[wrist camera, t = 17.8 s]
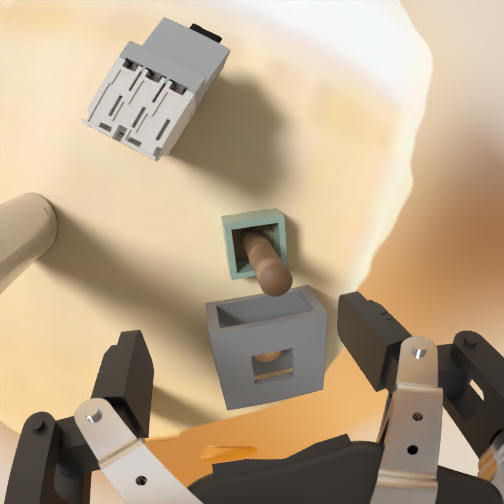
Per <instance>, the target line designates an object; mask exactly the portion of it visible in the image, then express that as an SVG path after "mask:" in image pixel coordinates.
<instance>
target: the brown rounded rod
mask: <svg viewBox="0 0 504 504" xmlns="http://www.w3.org/2000/svg"><path fill="white" fill-rule="evenodd" d="M241 242H242V244H243V246H244V249H245V251H246V253H247V256H248V258H249V260H250V263H251V265H252V267H253V270H254V272H255V274H256V277H257V279H258V281H259V284H260V286H261V288H262V290H263V292H264V293H265V294H266V295H268V296H272V297H278V296H281V295H283V294H285V293H286V292H287V291H288V290H289V289H290V288H291V286H292V282H293V279H292V275H291V273H290V272H289V270H288V269H287V267H286V266H285V264H284V263H283V262H282V260H281V259H280V257H279V256H278V254H277V253H276V251H275V250H274V248H273V247H272V245H271V244H270V242H269V241H268V240H267V238H266V237H265V235H264V234H263V232H262V231H261V230H260V229H259V228H257V227H248V228H246V229H245V230H244V231H243V232H242V234H241Z"/></svg>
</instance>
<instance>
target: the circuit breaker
mask: <svg viewBox="0 0 504 504" xmlns="http://www.w3.org/2000/svg"><path fill="white" fill-rule="evenodd" d="M221 40H222V38H221V37H220V36H218V35H216V34H213V33H211V32H209V31H207V30H205V29H203V28H202V27H200V26H198V25H196V24H194V23H193V24H192V25H191V27H190V28H187V27H185V26H183V25H181V24H178V23H176V22H174V21H172V20H169V19H167V18H165V17H164V18H163V19H162V20H161V22H160V23H159V24H158V26H157V27H156V28H155V29H154V31H153V32H152V33H151V35H150V36H149V37H148V39H147V40H146V41H145V43H144V44H143V46H141V45H139V44H136V43H134V42H132V41H129V43H128V44H127V45H126V47H125V48H124V50H123V51H122V53H121V54H120V56H119V57H118V59H117V60H116V62H115V63H114V65H113V66H112V68H111V69H110V71H109V73H108V74H107V76H106V78H105V79H104V81H103V83H102V84H101V86H100V88H99V89H98V91H97V93H96V95H95V96H94V98H93V100H92V102H91V104H90V105H89V107H88V109H87V111H89V112H90V114H89V115H88V117H87V119H86V121H85V120H83V119H82V121H81V122H82V123H84V124H86V125H87V126H89V127H91V128H94V129H96V130H98V131H99V132H101V133H103V134H105V135H107V136H109V137H111V138H113V139H115V140H117V141H119V142H121V143H123V144H125V145H126V146H128V147H130V148H132V149H134V150H136V151H138V152H140V153H142V154H144V155H146V156H148V157H150V158H151V159H153V160H155V161H158V160H160V158H161V156H162V155H164V156H168V155H170V153H171V150H172V148H173V147H174V146H175V144H176V143H177V141H178V139H179V138H180V136H181V134H182V133H183V131H184V129H185V128H186V126H187V125H188V123H189V121H190V120H191V118H192V116H193V115H194V113H195V112H196V110H197V109H198V107H199V106H200V104H201V102H202V101H203V96H204V95H205V93H206V92H207V90H208V89H209V87H210V86H211V84H212V83H213V81H214V80H215V78H216V77H217V76H218V74H219V73H220V71H221V70H222V68H223V67H224V64H225V62H226V59H227V57H228V56H229V54H230V53H229V52H230V49H228V48H227V47H225V46H223V45H221V44H219V43H220V42H221Z"/></svg>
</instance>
